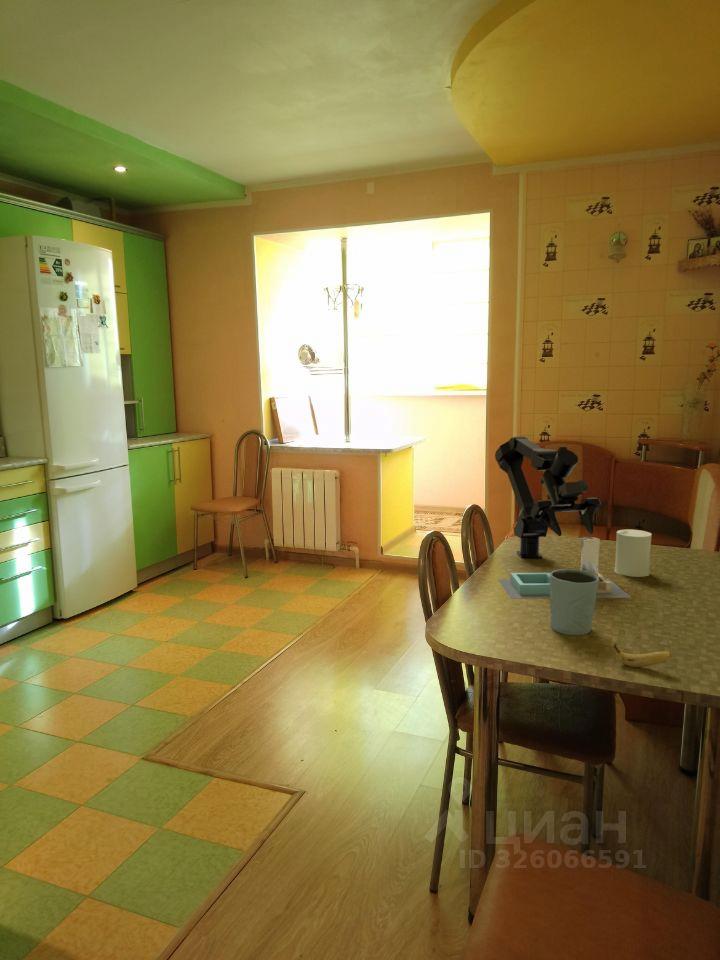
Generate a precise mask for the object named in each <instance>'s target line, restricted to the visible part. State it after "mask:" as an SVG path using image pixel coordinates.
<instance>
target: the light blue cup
mask: <svg viewBox="0 0 720 960" xmlns="http://www.w3.org/2000/svg"><path fill="white" fill-rule="evenodd" d="M549 573H550V590H551V593H550V596H551V597H550V598H549V601H550V602H549V603H550V606H549V607H550V628H551V629H552V630H554V631H556V632H557V633H560V634H563V635H564V634H565V635H567V636H569V635H570V636H582V635H586V634H589V633H590V632H591V631H592V627H593V618H594V613H595V609H596V608H595V605H596V600H597V598H596V593H597V588H598V582H599V578H598V577H597V576H596V575H594V574H592V573H589V572H586V571H581V570H580V569H571V568H570V569H569V568H563V569H556V570H552V571H551V572H549Z"/></svg>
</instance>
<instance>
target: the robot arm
mask: <svg viewBox="0 0 720 960" xmlns="http://www.w3.org/2000/svg"><path fill="white" fill-rule="evenodd" d="M525 458H527V459H528V460H530V466H531V467H533V469H534V470H536V471H538V472H541V471H544V472H543V474H542V475H541V478H540V481H539V482H540V484H541V485H544V486H545V488H546V491H547V495H546V497H547V499H542V500H541V499H540V500H536V502H535V500H534V498H533V495H532V492H531V489H530V487H529V484H528V481H527V479H526V476H525V472H524V470H523V468H522V466H523V464H524V460H525ZM494 459H495V461H496V463H497V464H498V466H499V469H501V470H502V471H503V472H504V473H506V474H507V477H508V479H509V483H510V485H511V489H512V491H513V494H514V497H515V500H516V502H517V505H518V508H519V513H518V516H517V522H516V524H515V526H514V527H513V535H514V537H517V538H518V539H520V540H519V541H520V543H519V550H517V551H516V554H517V555H518V556H519V557H520V558H521V559H530V558H531V559H533V558H534V559H535V558H536V559H537V558H540V559H541V558H543V555H542V554H541V553H540V538H542V537H544V538H546V537H547V534H548V530H549V529H550V530H551V531H552V532H554V534H556V536H558V537H561V536H562V535H563V533H562V530H561V527H560V525H559V522H558V520H557V517H556V513H558V512H560V513H567V512H578V514H579V515H580V516H581V517H580V520H581V523H583V525H584V527H585V529H586V531H587V532H588V533H589V534H590V535H592V534H593V533H594V516H595V514H596V513H597V512H598V511H599V509H600V508H601V507H602V503H601V500H600V499H599V498H598V497H587V498H586V497H585V498H584V499H583V500H582V502H581V503H576V502H577V501H578V500H579V496H580V495H583V494H584V493H586V492H588V490H589V484H588V483H587V481H586V480H585V479H579V480H578V481H574V482H573V481H572V482H571V481H570V482H567V480H566V478H568V476H570V474H571V473H572V471H573V470H574V468H575V466H576V465H577V464H578V461H579V458H578V455H577V454H576V453H575V452H573V451H572V450H569V449H568V448H567V446H559V447H558V449H557V450H555V449H548V448H543V447H541V446H539V445H537V444H535V443H534V442H533V441H531V440H529V439H528V437H526V436H512V437H511V438H510V439H509V440H508V441H506V442H504V443H502V444H500V446H499V447H498V448H497V450H496V451H495V453H494Z"/></svg>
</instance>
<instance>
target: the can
mask: <svg viewBox="0 0 720 960" xmlns="http://www.w3.org/2000/svg"><path fill="white" fill-rule="evenodd" d="M652 535H653V534H652V532H648V531H645V530H639V529H629V528H627V529H619V530H617V531H616V543H615V544H616V546H615V549H616V550H615V564H614V572H615V573H616V574H618V575H621V576H627V577H633V578H636V577H637V578H639V577H642V578H643V577H647V576H648V577H649V576H650V565H651V563H650V562H651V545H652Z"/></svg>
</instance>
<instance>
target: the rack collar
mask: <svg viewBox="0 0 720 960" xmlns="http://www.w3.org/2000/svg"><path fill="white" fill-rule="evenodd" d="M550 573H551V572H510V578H509V579H510V582H511V584H512V585H513V586H514V588H515V589H516V590H517V592H518V593H519V594H520V595H523V594H550V593H551V590H550ZM524 583H526V584H524Z"/></svg>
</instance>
